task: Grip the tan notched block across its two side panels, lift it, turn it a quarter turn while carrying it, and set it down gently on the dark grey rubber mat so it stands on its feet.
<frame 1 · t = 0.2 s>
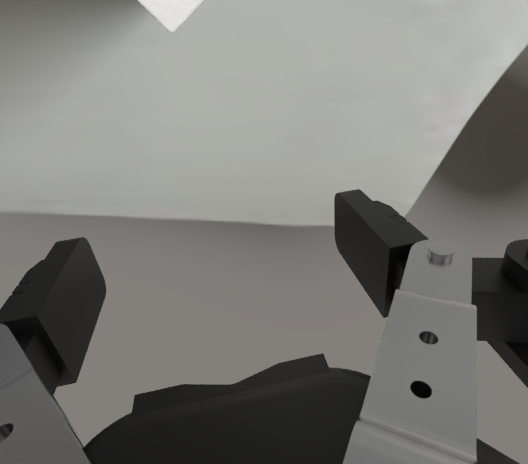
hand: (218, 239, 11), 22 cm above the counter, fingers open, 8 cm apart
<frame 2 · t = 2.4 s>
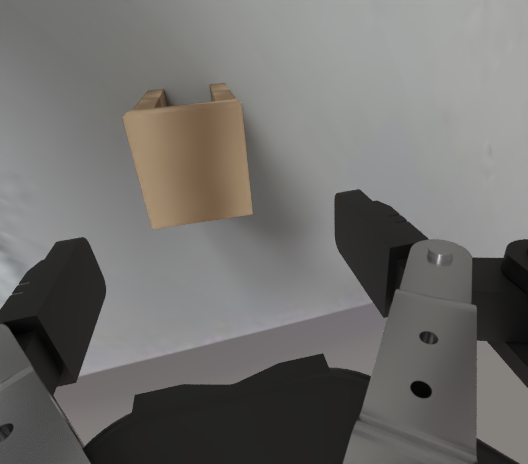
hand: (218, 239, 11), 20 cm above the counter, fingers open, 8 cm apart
tan notched block: (193, 125, 29), on the counter
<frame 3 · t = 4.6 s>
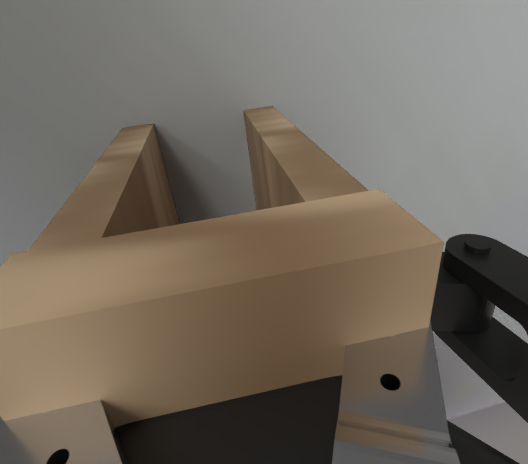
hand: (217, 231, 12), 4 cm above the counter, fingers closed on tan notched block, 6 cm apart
tan notched block: (212, 186, 15), on the counter, touching gripper
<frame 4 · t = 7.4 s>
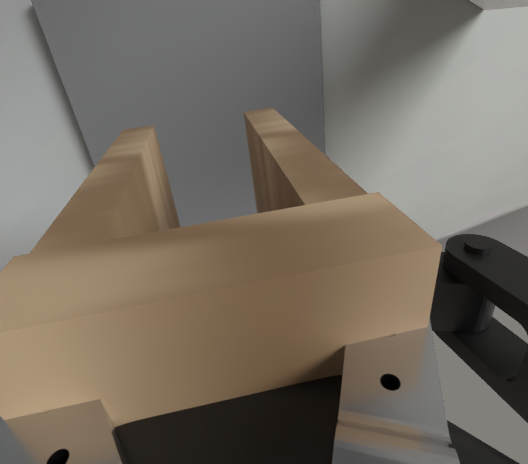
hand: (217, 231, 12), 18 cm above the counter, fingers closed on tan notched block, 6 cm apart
mat: (208, 124, 27), on the counter
tan notched block: (212, 187, 16), point 13 cm above the counter, touching gripper
when the fingers open (6 cm above the counter, at t = 10.2 s): tan notched block stays where it is, resting on mat.
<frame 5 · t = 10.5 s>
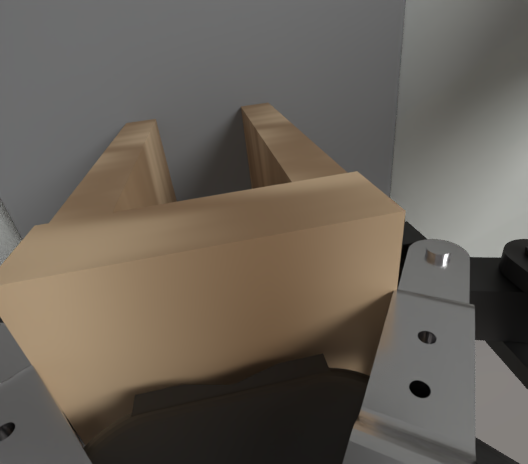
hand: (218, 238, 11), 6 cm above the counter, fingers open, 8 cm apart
mat: (210, 173, 17), on the counter
tan notched block: (211, 179, 16), point 1 cm above the counter, touching mat
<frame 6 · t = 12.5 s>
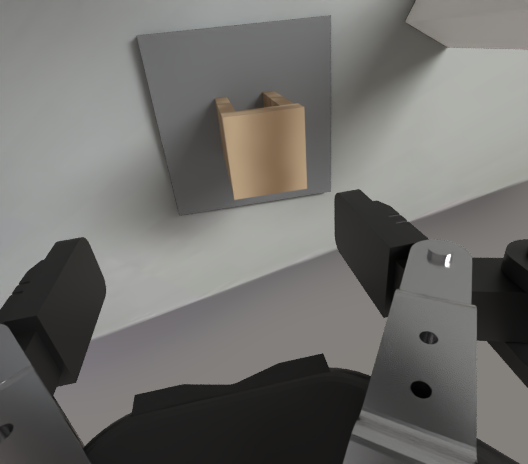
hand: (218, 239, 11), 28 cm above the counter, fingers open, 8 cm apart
milk: (442, 4, 35), on the counter
mat: (246, 123, 37), on the counter
tan notched block: (248, 124, 36), point 1 cm above the counter, touching mat
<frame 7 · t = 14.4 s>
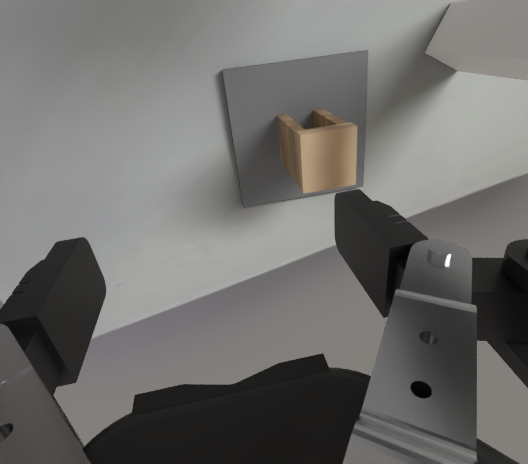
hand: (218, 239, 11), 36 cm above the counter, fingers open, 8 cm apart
milk: (453, 38, 45), on the counter
mat: (299, 133, 47), on the counter
tan notched block: (300, 135, 46), point 1 cm above the counter, touching mat
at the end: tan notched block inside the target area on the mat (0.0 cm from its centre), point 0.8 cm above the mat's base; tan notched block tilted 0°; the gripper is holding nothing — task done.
